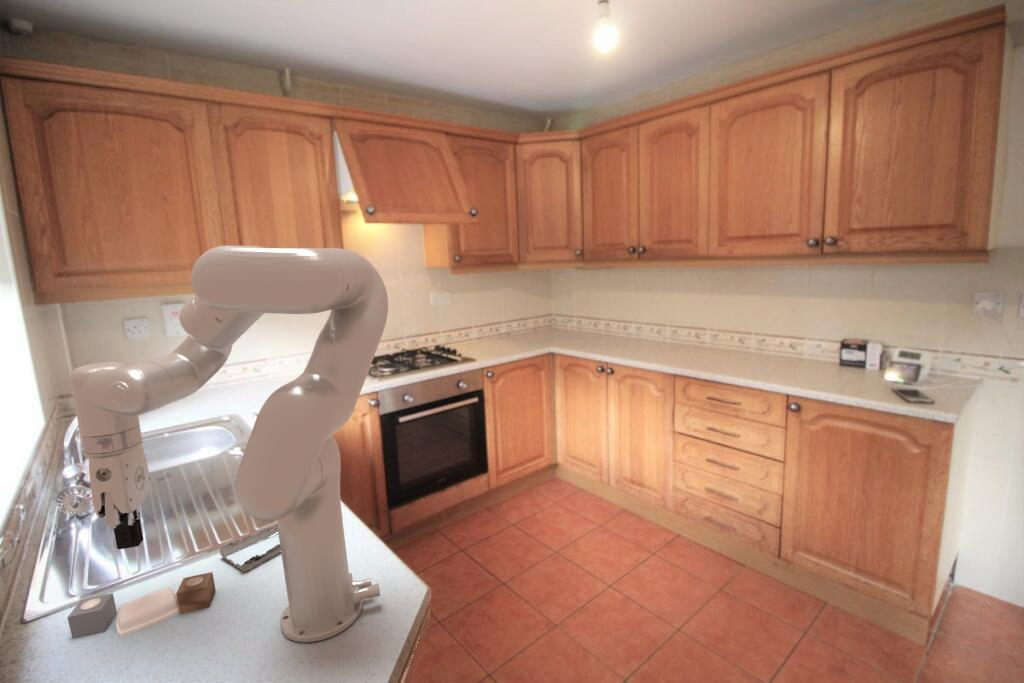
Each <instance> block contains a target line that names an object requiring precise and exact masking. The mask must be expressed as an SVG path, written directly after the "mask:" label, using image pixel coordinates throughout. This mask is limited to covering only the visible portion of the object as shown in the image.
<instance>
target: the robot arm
mask: <svg viewBox="0 0 1024 683" xmlns="http://www.w3.org/2000/svg"><path fill="white" fill-rule="evenodd" d="M190 280H191V285H192V289H193V292H194V293H195V294H194V295H193V296H192V297H191V298H190V299H189V300H188V301H187V302H186V303H185V304H184V305H183V306H182V307H181V309H180V311H179V314H178V317H179V322H180V326H181V328H182V329H183V330H184V332H186V333H185V334H187V335H188V336H187V337H186V338H185V339H184V340H183V341H182V342H181V343H180V344H179V345H177V347H176V348H175V349H174V350H173V351H171V352H170V353H169V354H167V355H165V356H160V357H157V358H153V359H149V360H146V361H142V362H140V363H135V364H132V365H128V364H127V363H125V362H123V361H121V362H120V361H103V362H96V363H95V362H94V363H90V364H84V365H81V366H79V367H76V368H75V369H74V370H72V372H71V374H70V377H69V378H70V380H69V381H70V385H71V391H72V396H73V397H72V398H73V402H74V407H75V413H76V419H77V424H78V429H79V430H78V431H79V434H80V440H81V441H80V442H81V447H82V451H83V452H82V453H83V455H84V456H85V457H87V458H88V473H89V482H90V484H89V487H90V492H91V499H92V504H93V505H92V506H93V510H94V513H95V515H96V517H98V518H100V519H103V518H104V517H105V527H107V528H110V527H111V528H112V529H113V533H114V538H115V544H116V549H117V550H124V549H129V548H136V547H139V546H140V545H141V544H142V542H143V541H144V536H143V530H142V529H143V528H142V523H141V518H140V516H141V510H140V505H141V504H142V503H143V502H144V501H145V499H146V498H147V497H148V496H149V494H150V493H151V491H152V488H153V487H152V480H151V476H150V475H151V474H150V471H149V467H148V462H147V457H146V454H145V451H144V448H143V445H142V444H143V437H142V429H141V424H140V418H139V416H141V415H145V414H148V413H150V412H154V411H155V410H159V409H161V408H163V407H165V406H168V405H169V404H173V403H175V402H177V401H180V400H183V399H185V398H187V397H189V396H192V395H194V393H196V392H198V391H199V390H200V389H201V388H202V387H204V385H205V384H207V383H208V381H210V379H212V378H213V377H214V376H215V375H216V374H217V373H218V372H219V371H220V370H221V368H223V366H224V365H225V364H226V362H227V360H228V359H229V356H230V354H231V353H232V349H233V346H234V344H235V343H236V342H237V341H238V340H239V339H240V338H241V337H243V335H244V334H245V333H246V332H247V331H248V330H249V329H250V328H251V327H252V326H253V325H254V324H255V323H256V322H257V321H258V320H259V319H260V318H261V317H262V316H263V315H265V314H279V315H281V314H283V315H286V314H287V315H310V314H311V315H313V314H318V313H323V312H327V311H330V313H329V316H328V318H327V320H326V322H325V324H324V325H323V327H322V329H321V330H320V333H319V334H318V336H317V338H316V341H315V344H314V347H313V350H312V352H311V355H310V357H309V360H308V362H307V364H306V366H305V368H304V370H303V372H302V373H301V374H300V375H298V377H296V378H295V379H293V380H292V381H291V380H290V381H289V382H287V383H285V384H283V385H281V386H280V387H278V388H277V389H275V391H273V392H272V393H271V394H270V395H269V396H268V397H267V399H266V400H265V401H264V403H263V405H262V406H261V408H260V410H259V411H258V414H257V416H256V419H255V421H254V424H253V427H252V430H251V432H250V435H249V438H248V441H247V444H246V447H245V449H244V452H243V455H242V458H241V460H240V463H239V466H238V469H237V471H236V472H237V473H236V475H235V476H236V477H235V495H236V498H237V501H238V503H239V505H240V507H241V509H242V510H243V511H244V512H245V513H246V514H247V515H248V516H250V517H252V518H253V519H256V520H260V521H267V522H268V521H275V520H276V523H277V524H276V525H278V532H279V533H278V538H279V539H278V540H279V544H280V547H281V552H280V554H281V561H282V566H283V567H282V568H283V574H284V582H285V589H286V594H287V595H286V596H287V602H288V606H287V607H286V608H285V609H284V611H283V612H282V614H281V617H280V622H279V623H280V629H281V632H282V634H283V635H284V636H285V637H286V638H287V639H289V640H291V641H293V642H294V641H295V642H298V643H314V642H319V641H323V640H326V639H330V638H331V637H333V636H336V635H338V634H340V633H341V632H343V631H345V630H346V629H348V628H349V627H351V625H352V624H353V623H354V622H355V621H357V619H358V617H359V616H360V614H361V612H362V610H363V600H366V599H373V598H378V597H380V596H381V593H380V592H381V590H380V584H379V583H374V584H372V579H371V578H366V579H363V580H360V581H357V580H354V579H353V573H352V572H350V570H349V563H348V561H349V560H348V554H347V547H346V546H347V545H346V538H345V530H344V523H343V521H344V520H343V512H342V511H343V510H342V501H341V469H342V468H341V467H342V466H341V465H342V464H341V462H342V461H341V453H340V452H341V451H340V448H339V445H338V442H337V441H336V439H335V438H334V436H333V435H334V434H335V433H337V432H338V431H339V430H340V429H342V428H343V426H345V425H346V424H347V423H348V421H349V420H350V419H351V417H352V415H353V413H354V411H355V409H356V405H357V403H358V400H359V398H360V395H361V392H362V389H363V387H364V384H365V382H366V380H367V377H368V375H369V372H370V369H371V366H372V363H373V360H374V357H375V355H376V353H377V350H378V347H379V345H380V343H381V340H382V338H383V334H384V332H385V328H386V324H387V319H388V315H389V314H388V313H389V298H388V292H387V288H386V286H385V285H386V284H385V282H384V280H383V278H382V276H381V274H380V273H379V272H378V269H376V268H375V266H374V265H373V264H372V263H371V262H370V261H369V260H368V259H367V258H365V257H364V256H362V255H361V254H359V253H357V252H356V251H353V250H350V249H347V248H346V249H344V248H335V247H334V248H331V247H329V248H326V247H325V248H324V247H323V248H322V247H321V248H320V247H319V248H315V247H314V248H313V247H311V248H309V247H308V248H305V247H303V248H299V247H297V248H295V247H291V248H287V247H277V248H276V247H275V248H274V247H273V248H271V247H264V246H260V245H259V246H258V245H219V246H215V247H212V248H209V249H208V250H206V251H205V252H204V253H202V254H201V255H200V257H199V258H198V259H197V260H196V261H195V262H194V264H193V267H192V270H191V274H190Z"/></svg>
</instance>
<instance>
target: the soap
mask: <svg viewBox="0 0 1024 683" xmlns="http://www.w3.org/2000/svg"><path fill="white" fill-rule="evenodd" d="M176 593H177V592H175V590H174V589H173V588H172V586H171V587H170V586H169V587H166V588H163V589H161V590H157V591H154V592H152V593H149V594H146V595H144V596H141V597H138V598H136V599H134V600H131V601H129V602H126V603H125V604H122V605H119V607H118V610H117V615H116V616H115V631H116V633H117V636H118V637H119V638H122V637H125V636H128V635H131V634H134V633H137V632H139V631H141V630H145V629H147V628H149V627H152V626H154V625H156V624H159V623H160V622H163V621H165V620H166V621H167V620H168V619H170V618H171V617H174V616H176V615H178V614H180V612H179V607H178V601H177V596H176Z"/></svg>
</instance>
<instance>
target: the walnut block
mask: <svg viewBox="0 0 1024 683" xmlns="http://www.w3.org/2000/svg"><path fill="white" fill-rule="evenodd" d="M175 593H176V596H177V601H178V607H179V612H180V613H179V615H183V614H186V613H187V614H188V613H191V612H195V611H199V610H204V609H207V608H208V609H209V608H211V605H212V603H213V600H214V598H215V596H216V593H217V591H216V584H215V579H214V574H213V571H210V572H206V573H200V574H196V575H191V576H187V577H183V579H182V581H181V582H180V584H179V587H178V589H177V590H176V592H175Z"/></svg>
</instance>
